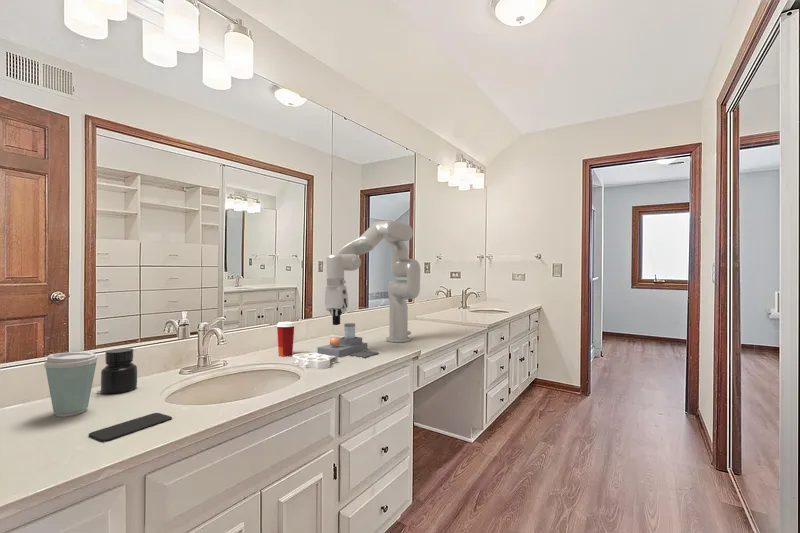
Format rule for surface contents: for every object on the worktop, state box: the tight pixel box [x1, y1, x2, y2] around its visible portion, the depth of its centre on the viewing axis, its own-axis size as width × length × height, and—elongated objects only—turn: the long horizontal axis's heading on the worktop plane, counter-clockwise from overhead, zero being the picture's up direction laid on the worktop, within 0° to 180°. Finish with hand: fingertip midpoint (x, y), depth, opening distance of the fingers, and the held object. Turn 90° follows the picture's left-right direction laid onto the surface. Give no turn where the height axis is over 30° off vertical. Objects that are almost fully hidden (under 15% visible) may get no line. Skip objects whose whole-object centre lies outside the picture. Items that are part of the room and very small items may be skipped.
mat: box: [349, 350, 380, 359], centre depth 166 cm, size 10×8×1 cm
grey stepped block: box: [317, 336, 368, 358], centre depth 173 cm, size 20×12×6 cm, turn 148°
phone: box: [88, 412, 173, 443], centre depth 89 cm, size 7×1×15 cm
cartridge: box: [343, 322, 356, 340], centre depth 176 cm, size 5×5×9 cm
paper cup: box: [276, 321, 296, 358], centre depth 165 cm, size 8×8×14 cm
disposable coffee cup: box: [43, 351, 99, 418], centre depth 98 cm, size 11×11×15 cm
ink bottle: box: [100, 347, 138, 395], centre depth 117 cm, size 10×9×12 cm
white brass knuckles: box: [291, 352, 339, 370], centre depth 150 cm, size 3×18×15 cm
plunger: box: [329, 336, 341, 348], centre depth 168 cm, size 4×4×7 cm
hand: (336, 324), depth 169 cm, fingers closed
